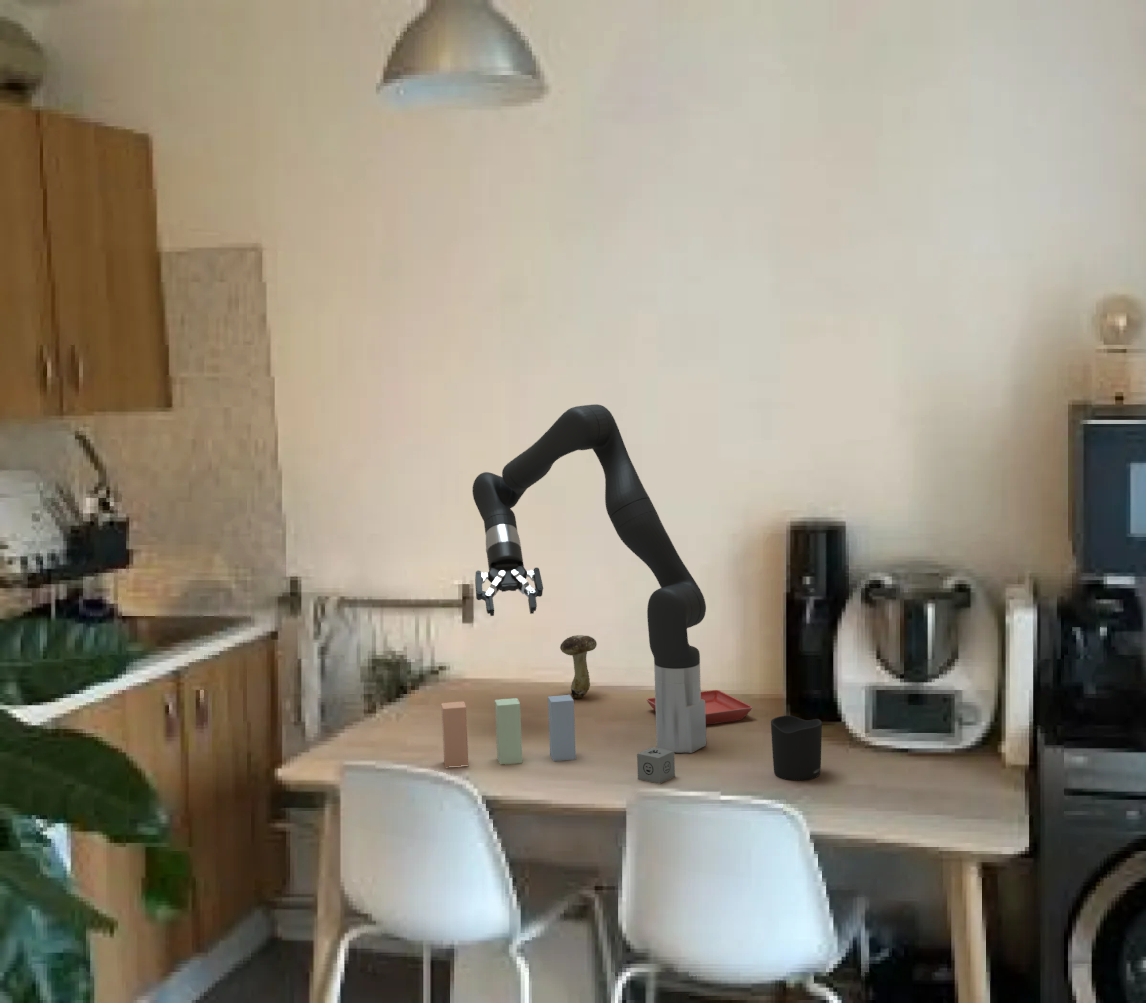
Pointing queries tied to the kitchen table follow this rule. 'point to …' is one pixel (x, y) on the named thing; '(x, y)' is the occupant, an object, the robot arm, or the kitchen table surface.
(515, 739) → the sage green block
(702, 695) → the red square tray
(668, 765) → the dice cube
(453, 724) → the terracotta block
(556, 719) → the slate blue block
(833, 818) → the kitchen table surface
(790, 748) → the pen holder
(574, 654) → the mushroom
